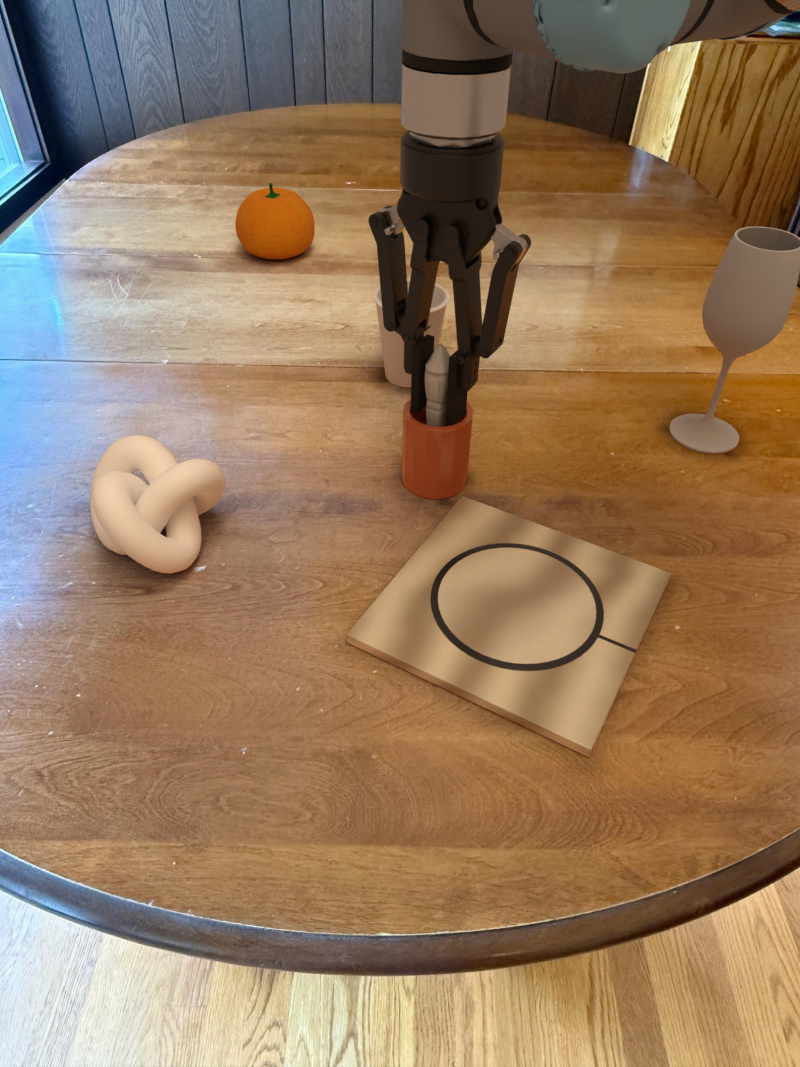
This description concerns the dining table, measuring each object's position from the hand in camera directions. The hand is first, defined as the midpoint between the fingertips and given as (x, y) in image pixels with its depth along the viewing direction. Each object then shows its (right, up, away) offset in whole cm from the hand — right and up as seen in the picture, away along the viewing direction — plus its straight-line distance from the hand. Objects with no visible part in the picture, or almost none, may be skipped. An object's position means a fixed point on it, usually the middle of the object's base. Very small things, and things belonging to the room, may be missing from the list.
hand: (438, 410), depth 71 cm
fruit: (-22, +31, +47) cm, 60 cm away
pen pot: (0, -6, +5) cm, 8 cm away
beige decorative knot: (-24, -12, -2) cm, 27 cm away
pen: (0, -6, +5) cm, 7 cm away
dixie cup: (-2, +7, +20) cm, 22 cm away
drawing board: (+6, -18, -8) cm, 20 cm away
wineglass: (+29, -1, +12) cm, 32 cm away
